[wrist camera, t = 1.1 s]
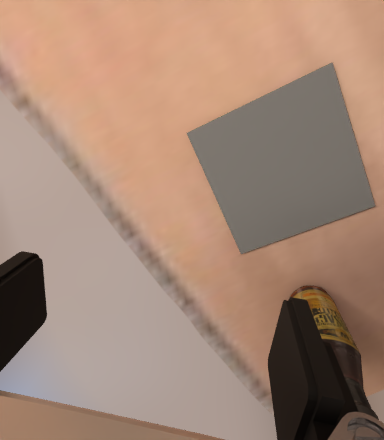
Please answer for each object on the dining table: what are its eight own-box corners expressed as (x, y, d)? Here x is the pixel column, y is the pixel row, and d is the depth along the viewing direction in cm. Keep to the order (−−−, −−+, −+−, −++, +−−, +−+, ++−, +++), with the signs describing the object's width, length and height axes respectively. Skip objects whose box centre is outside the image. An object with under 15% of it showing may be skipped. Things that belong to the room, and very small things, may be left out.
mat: (330, 63, 33) (332, 62, 33) (372, 204, 38) (375, 206, 37) (187, 132, 38) (186, 133, 37) (240, 251, 42) (241, 254, 42)
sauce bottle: (339, 294, 43) (423, 431, 24) (314, 325, 45) (375, 473, 26) (299, 274, 42) (353, 398, 24) (276, 307, 45) (309, 443, 26)
